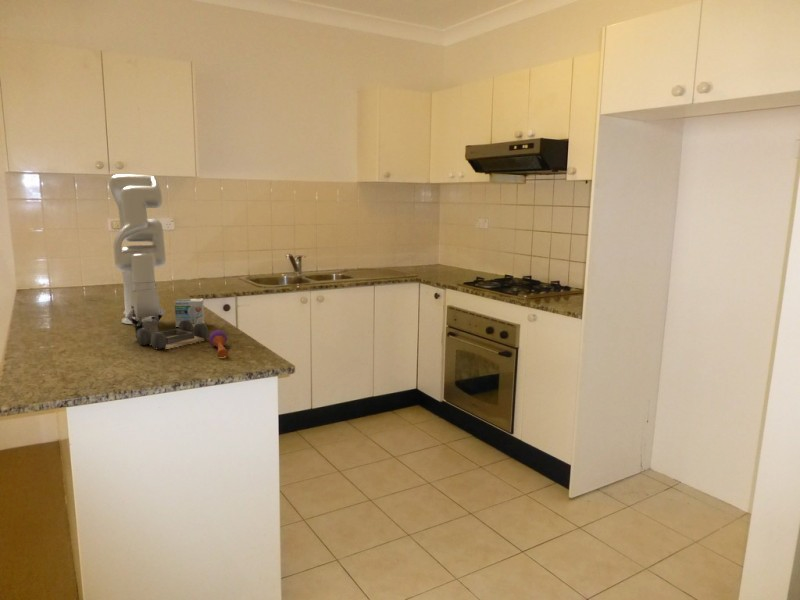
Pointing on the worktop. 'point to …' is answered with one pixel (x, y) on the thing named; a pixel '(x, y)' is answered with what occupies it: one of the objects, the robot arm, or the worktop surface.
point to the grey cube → (150, 325)
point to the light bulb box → (189, 311)
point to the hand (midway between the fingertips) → (147, 333)
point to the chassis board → (173, 335)
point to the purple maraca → (219, 342)
